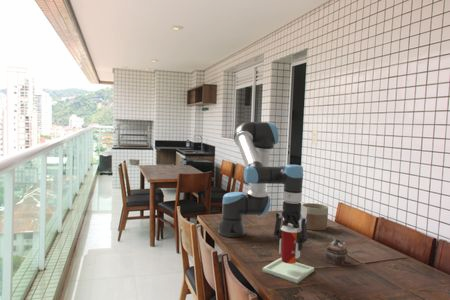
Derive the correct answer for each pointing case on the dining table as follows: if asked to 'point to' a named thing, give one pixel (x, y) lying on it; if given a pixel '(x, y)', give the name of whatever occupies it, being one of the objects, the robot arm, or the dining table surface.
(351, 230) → the dining table surface
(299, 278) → the tray
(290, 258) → the coffee cup
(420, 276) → the dining table surface
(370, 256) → the dining table surface
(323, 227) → the planter
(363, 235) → the dining table surface
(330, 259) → the cupcake
